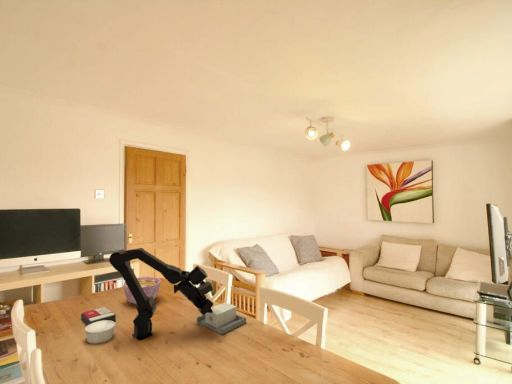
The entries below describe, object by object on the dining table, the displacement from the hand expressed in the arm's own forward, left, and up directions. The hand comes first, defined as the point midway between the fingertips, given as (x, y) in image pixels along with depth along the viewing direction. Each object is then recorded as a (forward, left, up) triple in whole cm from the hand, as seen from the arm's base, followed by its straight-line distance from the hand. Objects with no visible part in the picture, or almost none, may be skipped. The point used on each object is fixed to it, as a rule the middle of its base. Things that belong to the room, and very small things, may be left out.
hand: (211, 312), depth 129 cm
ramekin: (-38, +27, -7) cm, 47 cm away
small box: (0, 0, -3) cm, 3 cm away
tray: (+6, 0, -7) cm, 9 cm away
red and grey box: (-32, +45, -8) cm, 56 cm away
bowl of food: (-7, +52, -7) cm, 53 cm away
